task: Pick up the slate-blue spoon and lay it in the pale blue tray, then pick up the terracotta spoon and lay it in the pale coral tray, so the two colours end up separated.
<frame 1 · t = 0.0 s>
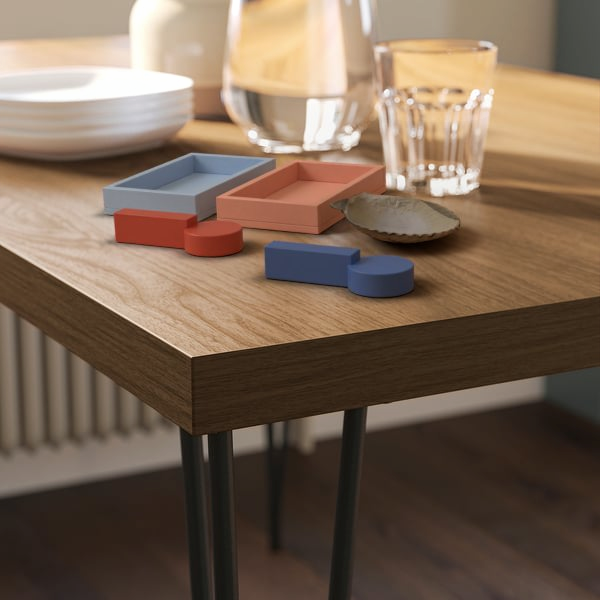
tray blue: (194, 197, 90), on the table
spoon red: (179, 245, 77), on the table
seashell: (396, 241, 78), on the table
tray red: (305, 207, 86), on the table
spoon blue: (339, 282, 69), on the table
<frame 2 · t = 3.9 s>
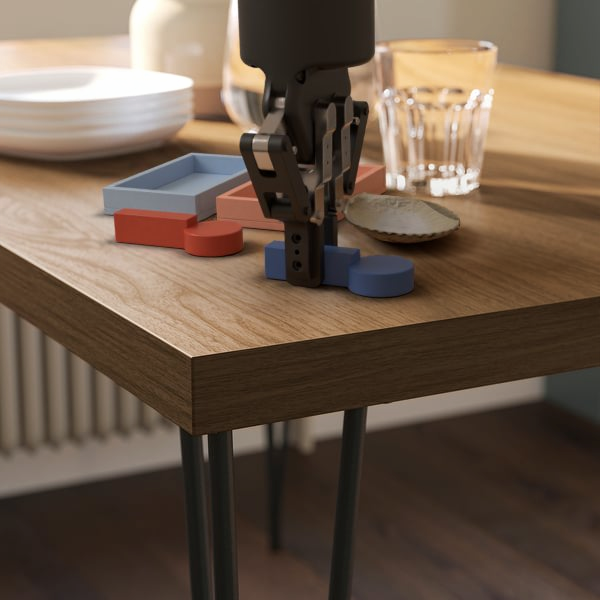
hand: (312, 278, 70), 0 cm above the table, tool pointing down, fingers closed on spoon blue, 1 cm apart
spoon blue: (339, 282, 69), on the table, touching gripper
everything else where it was.
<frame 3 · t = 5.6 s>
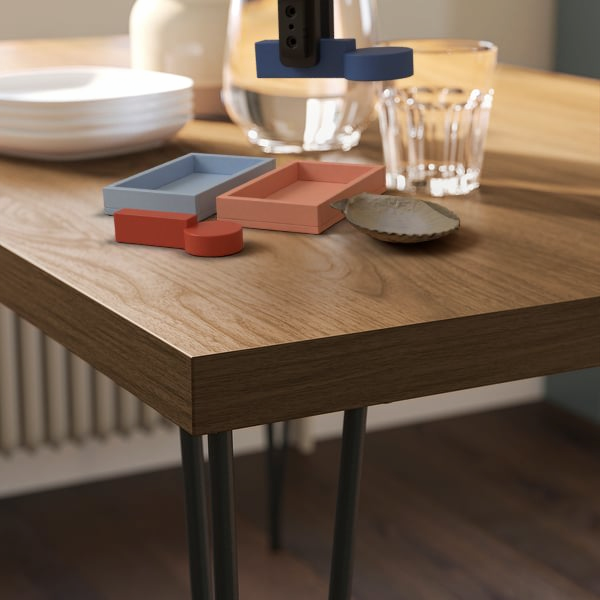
hand: (307, 63, 66), 13 cm above the table, tool pointing down, fingers closed on spoon blue, 1 cm apart
spoon blue: (334, 76, 65), point 12 cm above the table, touching gripper
everything else where it was.
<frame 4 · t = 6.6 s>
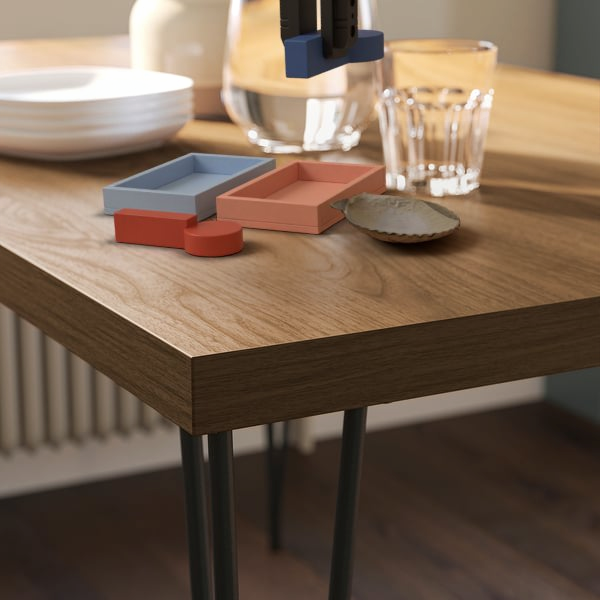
hand: (319, 56, 65), 13 cm above the table, tool pointing down, fingers closed on spoon blue, 1 cm apart
spoon blue: (332, 65, 66), point 12 cm above the table, touching gripper
everything else where it was.
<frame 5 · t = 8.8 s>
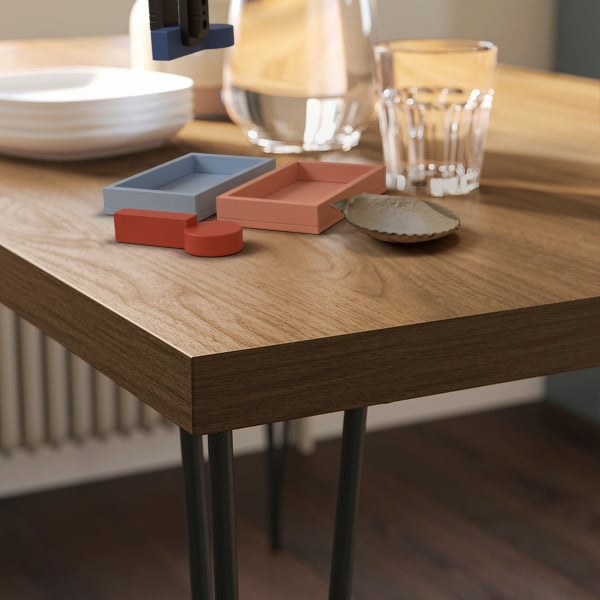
hand: (180, 43, 83), 12 cm above the table, tool pointing down, fingers closed on spoon blue, 1 cm apart
spoon blue: (192, 51, 85), point 11 cm above the table, touching gripper
everything else where it was.
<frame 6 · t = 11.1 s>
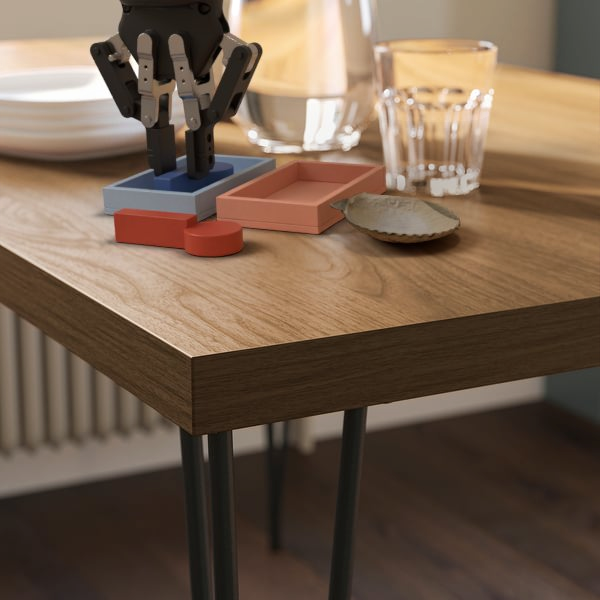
hand: (181, 175, 88), 2 cm above the table, tool pointing down, fingers closed
spoon blue: (193, 191, 90), point 1 cm above the table, touching tray blue
everything else where it was.
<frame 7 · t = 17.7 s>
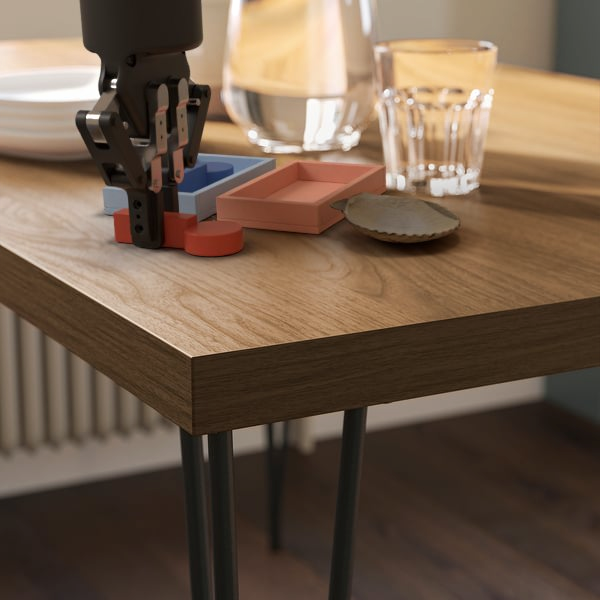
hand: (156, 241, 78), 0 cm above the table, tool pointing down, fingers closed on spoon red, 1 cm apart
spoon red: (179, 245, 77), on the table, touching gripper
everything else where it was.
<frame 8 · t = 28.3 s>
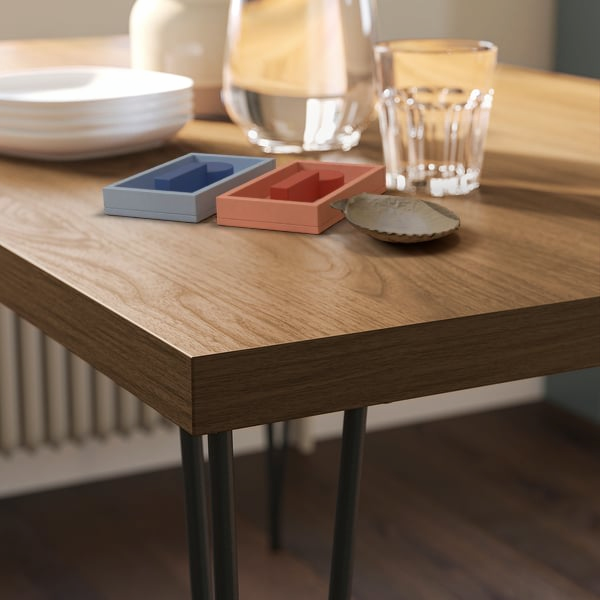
spoon red: (305, 200, 86), resting on tray red
everything else where it was.
at the end: spoon blue inside the target area on the tray blue (0.1 cm from its centre), point 0.5 cm above the tray blue's base; spoon red inside the target area on the tray red (0.1 cm from its centre), point 0.5 cm above the tray red's base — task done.
